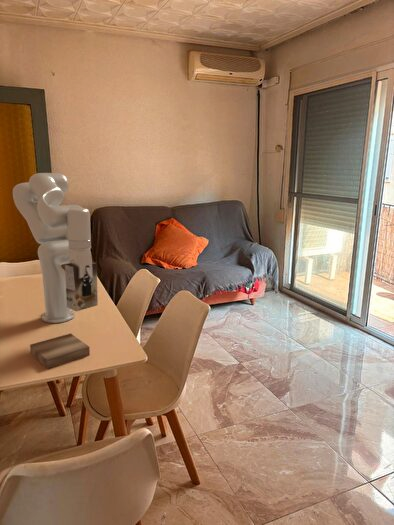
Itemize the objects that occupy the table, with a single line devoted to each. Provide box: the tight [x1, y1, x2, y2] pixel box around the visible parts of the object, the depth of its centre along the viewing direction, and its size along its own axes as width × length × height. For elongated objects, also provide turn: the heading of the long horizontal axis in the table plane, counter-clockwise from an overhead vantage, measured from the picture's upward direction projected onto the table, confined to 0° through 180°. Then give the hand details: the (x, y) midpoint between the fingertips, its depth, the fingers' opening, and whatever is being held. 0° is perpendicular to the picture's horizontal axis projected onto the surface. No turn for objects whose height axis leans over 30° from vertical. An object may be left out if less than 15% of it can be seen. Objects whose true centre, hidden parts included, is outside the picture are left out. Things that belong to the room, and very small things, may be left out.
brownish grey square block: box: [29, 333, 91, 370], centre depth 130 cm, size 14×14×3 cm
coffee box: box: [64, 261, 99, 312], centre depth 141 cm, size 9×6×16 cm
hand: (82, 292), depth 141 cm, fingers closed on coffee box, 6 cm apart
